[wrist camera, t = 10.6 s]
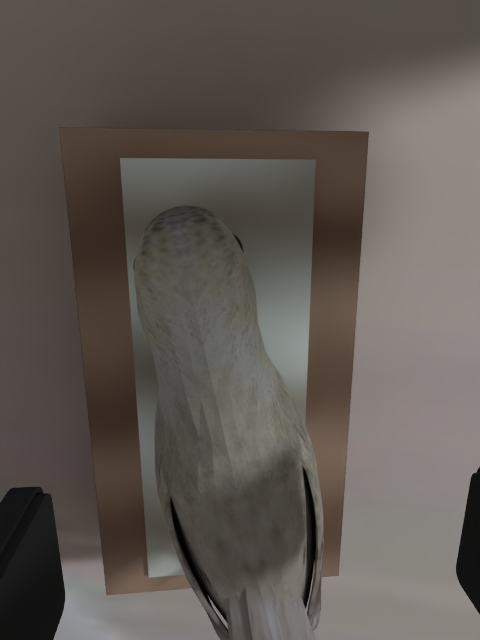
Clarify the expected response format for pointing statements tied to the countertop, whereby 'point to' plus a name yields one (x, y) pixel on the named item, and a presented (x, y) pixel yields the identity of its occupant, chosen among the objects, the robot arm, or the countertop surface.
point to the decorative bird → (227, 435)
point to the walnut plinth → (271, 295)
